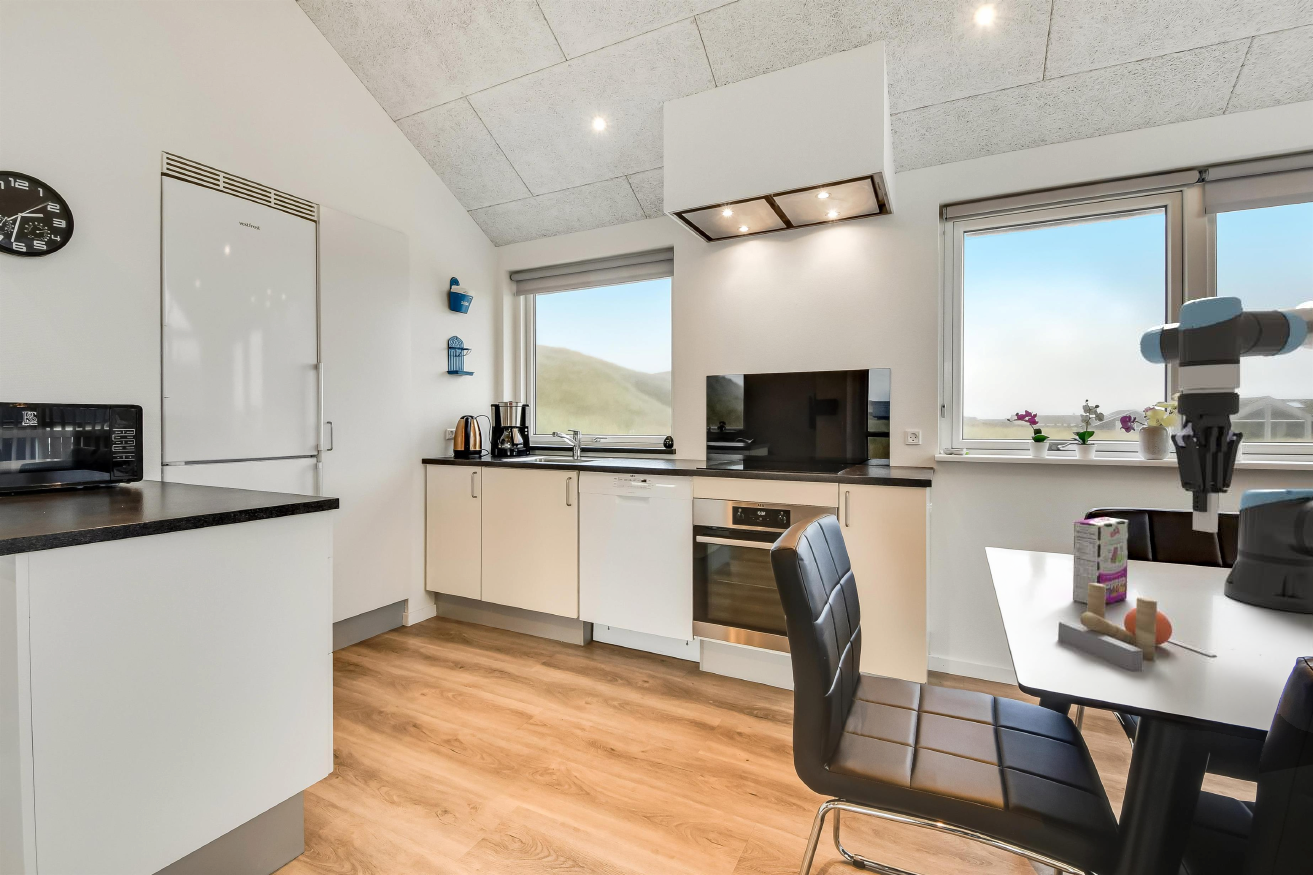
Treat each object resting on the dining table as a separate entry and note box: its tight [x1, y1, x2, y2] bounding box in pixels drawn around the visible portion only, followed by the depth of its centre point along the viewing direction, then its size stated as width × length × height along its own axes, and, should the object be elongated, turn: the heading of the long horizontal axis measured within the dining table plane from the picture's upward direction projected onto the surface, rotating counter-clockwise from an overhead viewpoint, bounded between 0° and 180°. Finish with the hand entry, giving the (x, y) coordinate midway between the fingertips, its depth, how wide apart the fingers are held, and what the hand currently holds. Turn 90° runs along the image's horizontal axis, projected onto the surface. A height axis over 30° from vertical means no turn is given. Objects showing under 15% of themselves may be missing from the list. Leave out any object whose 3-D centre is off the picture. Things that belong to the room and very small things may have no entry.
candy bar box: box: [1072, 516, 1129, 606], centre depth 117 cm, size 11×5×16 cm, turn 117°
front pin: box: [1079, 611, 1135, 646], centre depth 93 cm, size 2×2×9 cm
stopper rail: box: [1057, 620, 1144, 672], centre depth 90 cm, size 2×12×3 cm, turn 12°
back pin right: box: [1085, 583, 1106, 630], centre depth 97 cm, size 2×2×9 cm
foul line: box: [1167, 637, 1217, 658], centre depth 96 cm, size 1×12×1 cm, turn 13°
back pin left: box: [1134, 597, 1158, 662], centre depth 89 cm, size 2×2×9 cm
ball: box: [1123, 607, 1173, 646], centre depth 94 cm, size 6×6×6 cm
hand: (1205, 530), depth 98 cm, fingers closed
